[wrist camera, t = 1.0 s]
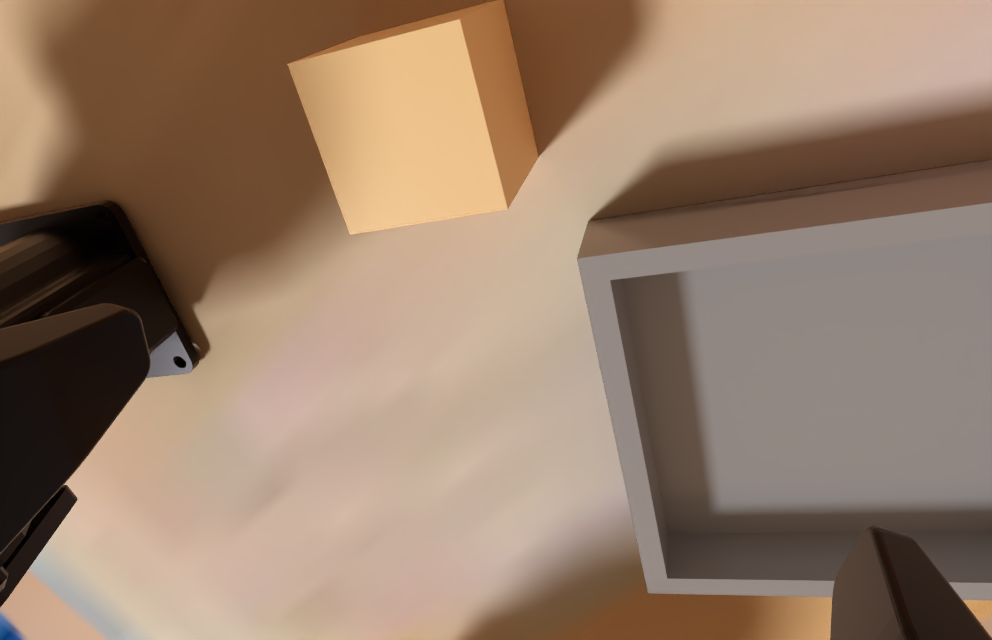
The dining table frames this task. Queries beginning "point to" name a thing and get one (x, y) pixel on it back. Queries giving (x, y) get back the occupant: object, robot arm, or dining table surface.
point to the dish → (801, 379)
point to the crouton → (421, 119)
